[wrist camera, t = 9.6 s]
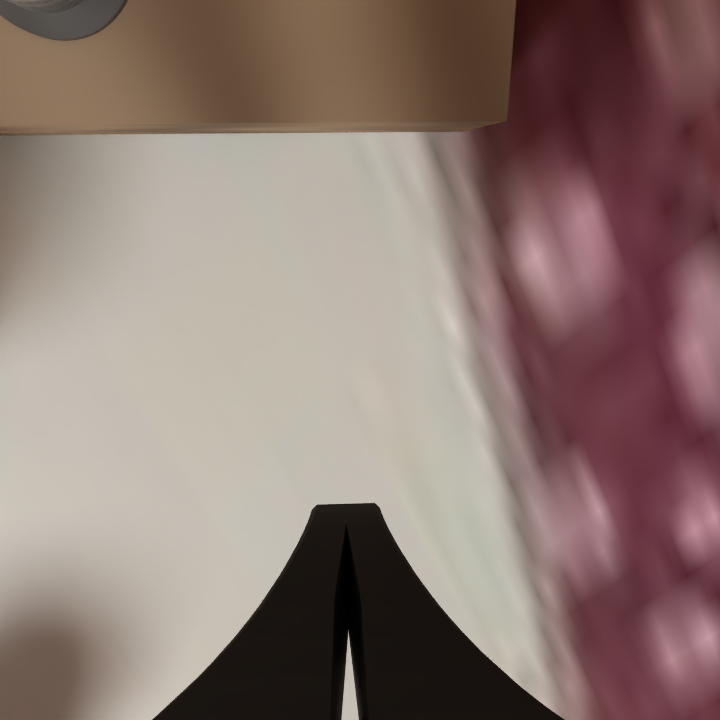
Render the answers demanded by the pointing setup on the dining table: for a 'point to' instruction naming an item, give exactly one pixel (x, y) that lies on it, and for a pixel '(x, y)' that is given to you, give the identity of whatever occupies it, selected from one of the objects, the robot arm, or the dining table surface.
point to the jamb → (255, 66)
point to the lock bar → (46, 5)
